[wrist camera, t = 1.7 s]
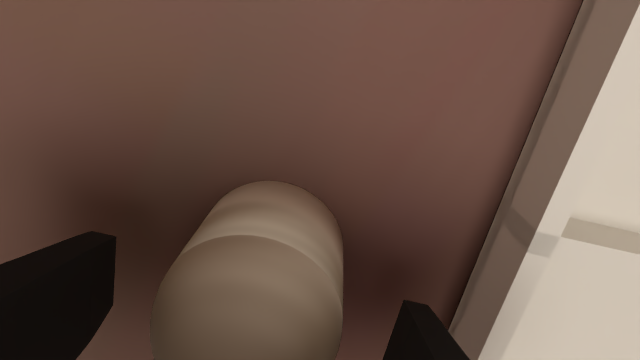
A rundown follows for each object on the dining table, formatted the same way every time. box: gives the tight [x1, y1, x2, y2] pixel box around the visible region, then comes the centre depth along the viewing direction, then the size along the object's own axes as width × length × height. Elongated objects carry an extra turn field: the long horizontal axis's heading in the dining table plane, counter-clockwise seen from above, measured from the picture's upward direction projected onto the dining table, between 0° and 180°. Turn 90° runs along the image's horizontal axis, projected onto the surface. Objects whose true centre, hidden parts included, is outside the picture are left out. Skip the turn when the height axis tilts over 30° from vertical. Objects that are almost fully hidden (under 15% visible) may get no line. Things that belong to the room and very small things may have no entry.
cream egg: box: [150, 181, 343, 360], centre depth 10 cm, size 4×4×6 cm
